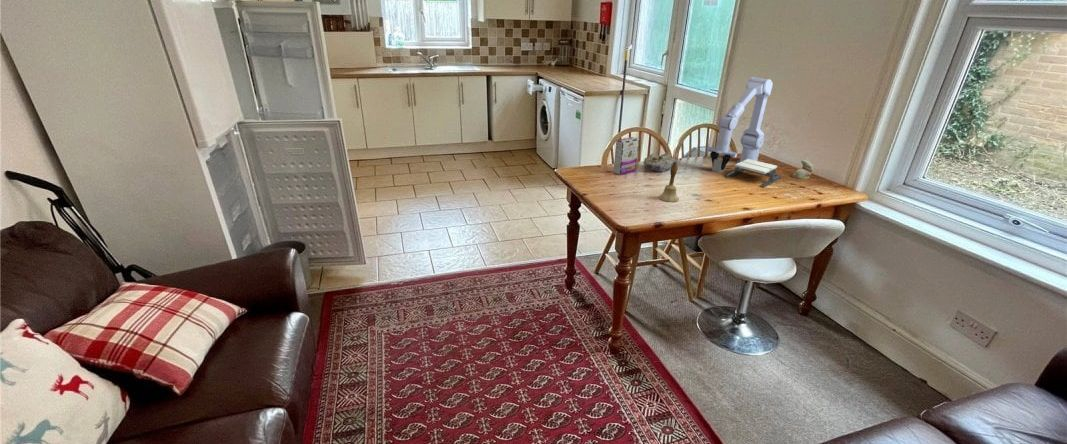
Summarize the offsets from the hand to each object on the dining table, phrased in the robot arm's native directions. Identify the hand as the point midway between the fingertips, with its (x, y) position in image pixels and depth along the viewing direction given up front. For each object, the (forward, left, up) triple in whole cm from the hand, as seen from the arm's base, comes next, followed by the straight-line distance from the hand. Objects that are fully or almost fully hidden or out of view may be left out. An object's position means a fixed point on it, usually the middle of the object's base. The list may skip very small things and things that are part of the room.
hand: (718, 168), depth 227 cm
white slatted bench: (-4, +16, -2) cm, 17 cm away
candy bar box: (+38, -29, -2) cm, 48 cm away
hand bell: (+51, +4, -2) cm, 51 cm away
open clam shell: (-24, +31, -2) cm, 39 cm away
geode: (+21, -21, -2) cm, 30 cm away
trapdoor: (-4, +16, +4) cm, 17 cm away
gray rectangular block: (0, 0, -2) cm, 2 cm away
